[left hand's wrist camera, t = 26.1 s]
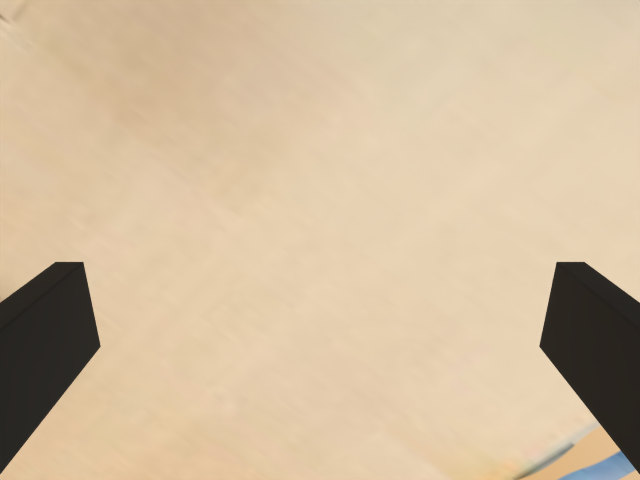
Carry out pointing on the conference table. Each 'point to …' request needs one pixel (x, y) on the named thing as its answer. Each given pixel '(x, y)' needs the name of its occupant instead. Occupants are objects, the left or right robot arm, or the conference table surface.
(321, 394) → the conference table surface
